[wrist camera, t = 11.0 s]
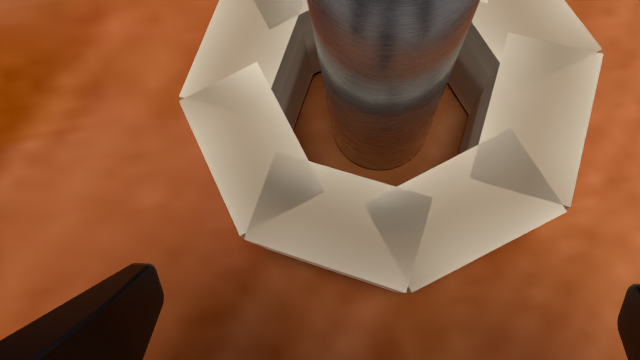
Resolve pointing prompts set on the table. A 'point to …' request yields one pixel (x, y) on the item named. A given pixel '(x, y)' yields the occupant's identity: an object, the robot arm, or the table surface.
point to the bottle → (386, 71)
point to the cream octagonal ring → (420, 192)
